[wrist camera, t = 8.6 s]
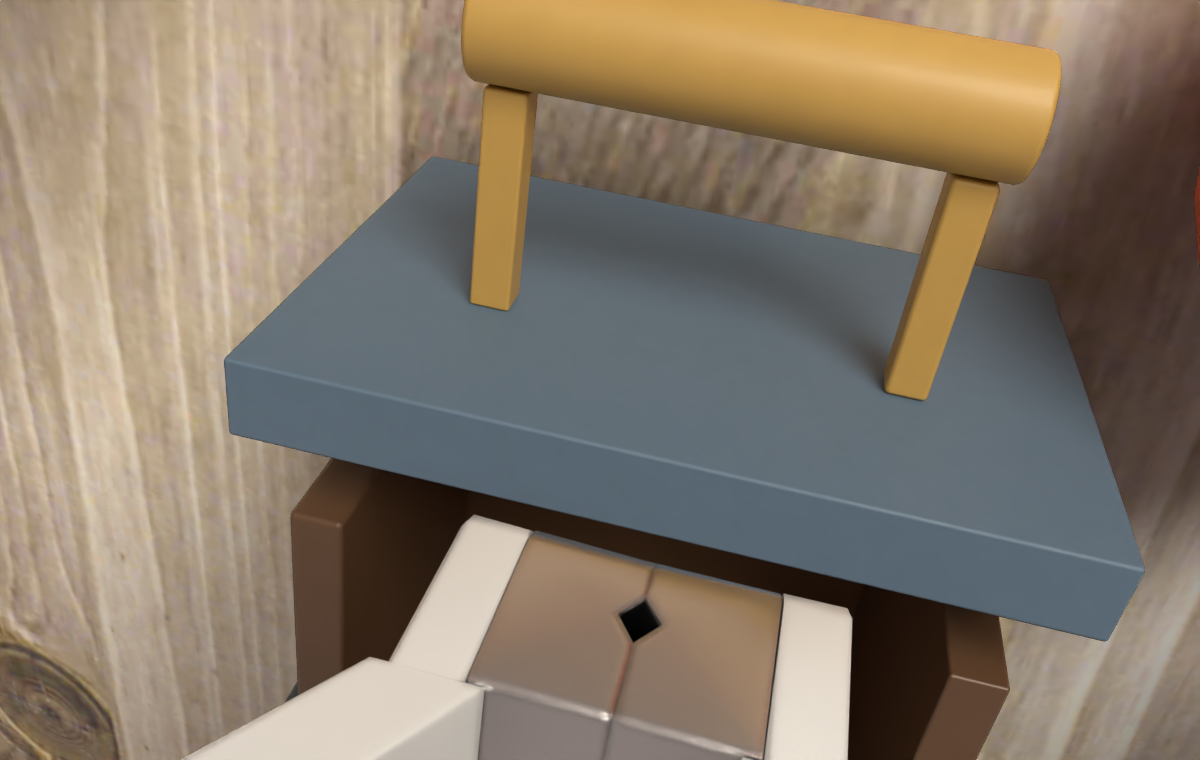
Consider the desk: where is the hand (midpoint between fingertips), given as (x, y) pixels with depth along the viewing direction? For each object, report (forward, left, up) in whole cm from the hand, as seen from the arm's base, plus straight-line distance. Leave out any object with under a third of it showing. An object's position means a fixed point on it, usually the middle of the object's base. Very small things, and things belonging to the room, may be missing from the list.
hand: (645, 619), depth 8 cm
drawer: (0, +6, -12) cm, 13 cm away
